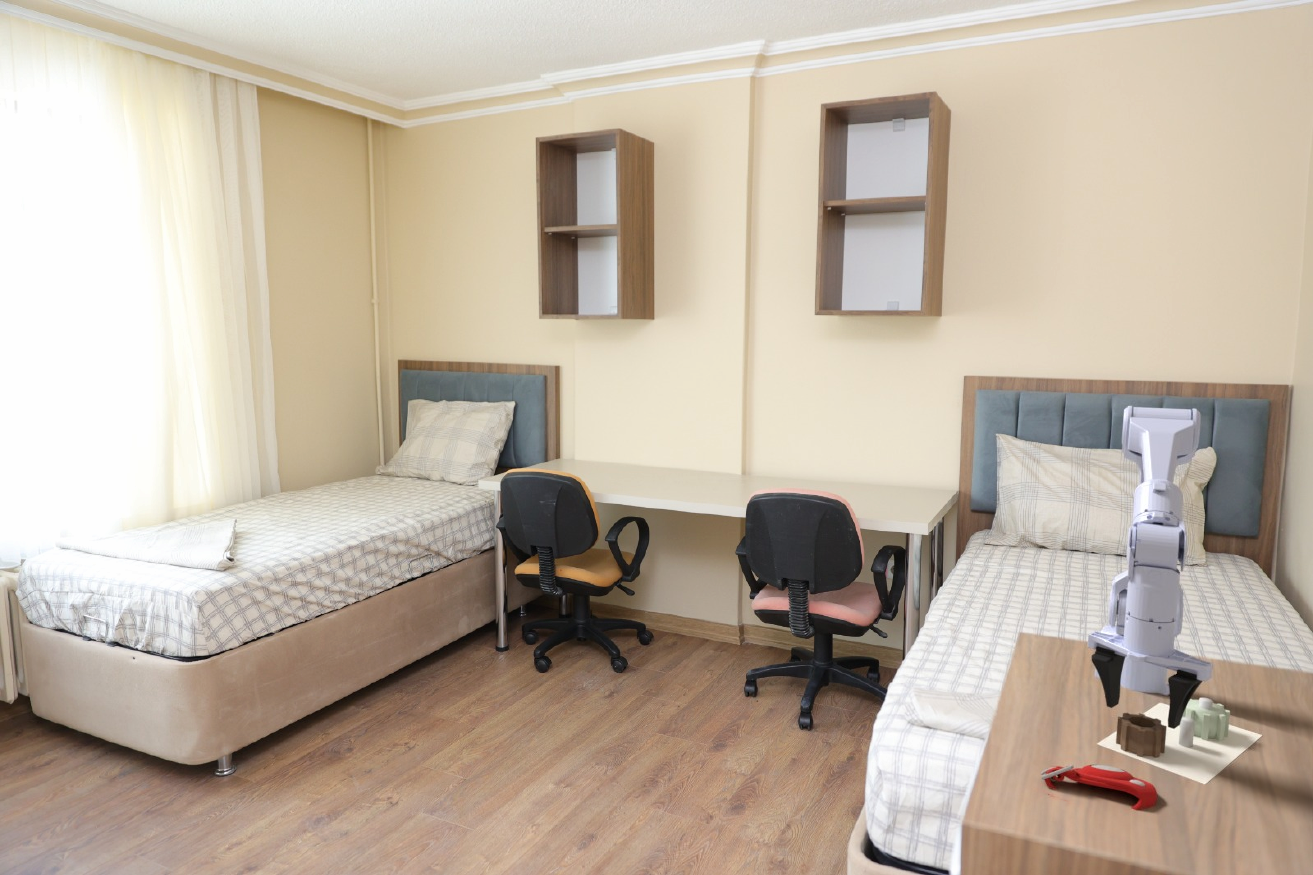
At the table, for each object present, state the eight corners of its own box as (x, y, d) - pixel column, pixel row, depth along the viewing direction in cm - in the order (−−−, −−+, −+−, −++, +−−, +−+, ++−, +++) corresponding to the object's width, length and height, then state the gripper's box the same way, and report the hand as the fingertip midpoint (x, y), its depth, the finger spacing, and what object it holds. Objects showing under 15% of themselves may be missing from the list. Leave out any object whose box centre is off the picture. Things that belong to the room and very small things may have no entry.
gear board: (1096, 751, 117) (1099, 711, 116) (1159, 708, 129) (1162, 673, 129) (1204, 792, 107) (1208, 749, 106) (1261, 742, 119) (1265, 703, 118)
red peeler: (1099, 759, 113) (1174, 777, 104) (1099, 795, 112) (1173, 817, 103) (1031, 757, 108) (1102, 775, 99) (1030, 795, 107) (1102, 817, 98)
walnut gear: (1109, 745, 116) (1111, 720, 116) (1127, 733, 120) (1129, 709, 119) (1152, 761, 112) (1155, 736, 112) (1170, 748, 115) (1172, 723, 115)
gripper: (1079, 607, 116) (1072, 704, 118) (1200, 638, 105) (1190, 745, 107) (1104, 597, 121) (1097, 690, 123) (1222, 625, 110) (1213, 728, 111)
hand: (1142, 715), depth 115 cm, fingers open, 7 cm apart
